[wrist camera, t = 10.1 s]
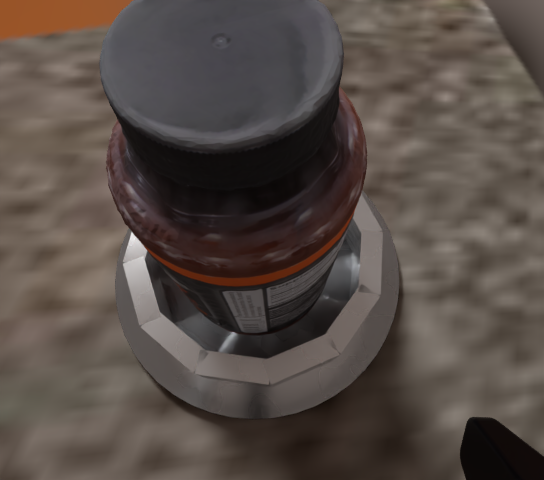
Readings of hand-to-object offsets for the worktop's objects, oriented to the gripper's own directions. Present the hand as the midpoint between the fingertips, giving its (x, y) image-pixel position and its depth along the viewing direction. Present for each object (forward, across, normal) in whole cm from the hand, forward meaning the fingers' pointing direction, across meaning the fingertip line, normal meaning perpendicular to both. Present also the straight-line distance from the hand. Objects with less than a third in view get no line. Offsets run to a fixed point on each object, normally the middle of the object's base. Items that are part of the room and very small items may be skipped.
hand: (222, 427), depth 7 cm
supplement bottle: (+10, 0, +1) cm, 10 cm away
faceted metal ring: (+10, 0, +2) cm, 10 cm away
